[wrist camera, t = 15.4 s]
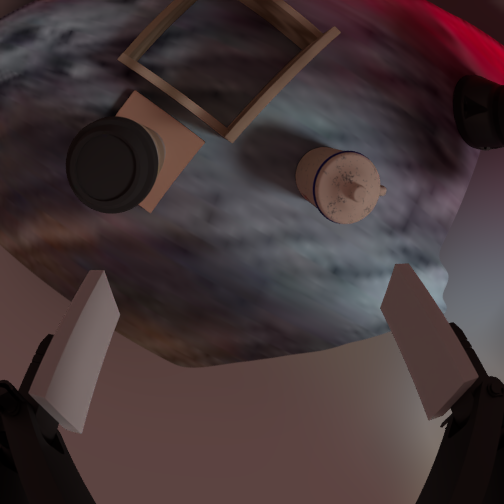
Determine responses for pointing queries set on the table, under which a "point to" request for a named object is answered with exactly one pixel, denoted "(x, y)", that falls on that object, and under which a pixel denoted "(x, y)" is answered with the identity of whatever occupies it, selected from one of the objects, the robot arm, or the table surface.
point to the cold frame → (306, 38)
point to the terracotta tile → (173, 135)
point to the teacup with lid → (339, 183)
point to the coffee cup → (114, 163)
